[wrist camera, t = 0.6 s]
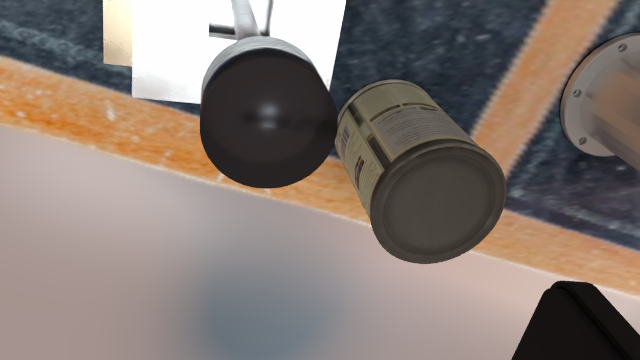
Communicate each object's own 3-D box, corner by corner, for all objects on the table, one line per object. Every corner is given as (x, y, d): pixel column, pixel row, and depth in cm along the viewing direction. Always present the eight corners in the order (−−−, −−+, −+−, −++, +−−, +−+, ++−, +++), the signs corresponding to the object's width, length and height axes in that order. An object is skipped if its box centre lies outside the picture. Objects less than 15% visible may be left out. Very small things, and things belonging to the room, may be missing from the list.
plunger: (314, -59, 28) (424, 14, 14) (294, 70, 31) (366, 241, 17) (175, -83, 26) (135, -28, 12) (169, 56, 29) (132, 230, 15)
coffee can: (448, 154, 55) (516, 235, 43) (351, 192, 55) (392, 283, 43) (425, 60, 49) (495, 122, 37) (318, 102, 50) (354, 177, 37)
